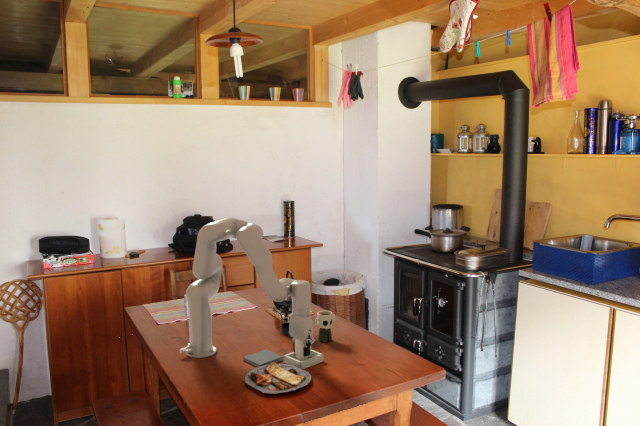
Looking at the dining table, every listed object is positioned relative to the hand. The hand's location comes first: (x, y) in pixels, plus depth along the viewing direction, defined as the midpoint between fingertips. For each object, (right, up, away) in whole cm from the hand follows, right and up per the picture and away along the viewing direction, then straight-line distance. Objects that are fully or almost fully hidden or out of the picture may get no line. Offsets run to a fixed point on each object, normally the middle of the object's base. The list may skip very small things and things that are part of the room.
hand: (301, 353), depth 226 cm
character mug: (+10, -1, +25) cm, 27 cm away
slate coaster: (-16, -4, +3) cm, 17 cm away
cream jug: (0, -4, +1) cm, 4 cm away
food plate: (-9, -7, -17) cm, 20 cm away
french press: (-6, +1, +36) cm, 36 cm away
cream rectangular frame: (+1, -4, +1) cm, 4 cm away
